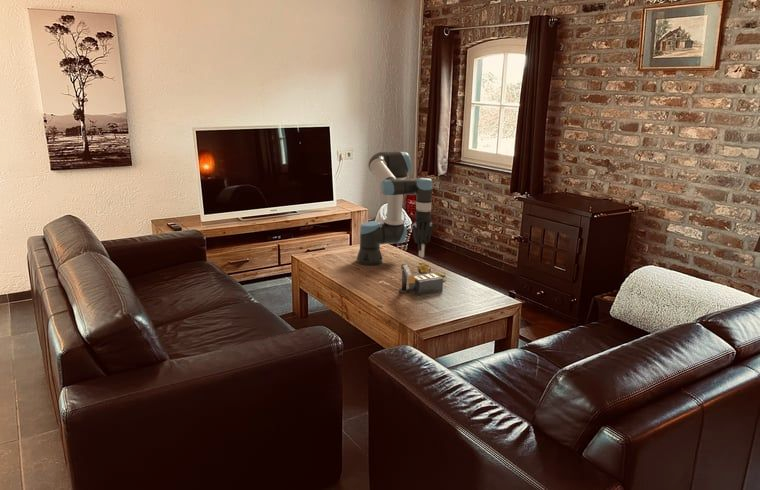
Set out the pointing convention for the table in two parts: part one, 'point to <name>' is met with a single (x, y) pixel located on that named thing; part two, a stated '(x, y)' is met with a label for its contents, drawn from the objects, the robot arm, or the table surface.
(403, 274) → the post
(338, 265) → the table surface
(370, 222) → the robot arm
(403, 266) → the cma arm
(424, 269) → the figurine
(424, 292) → the block
